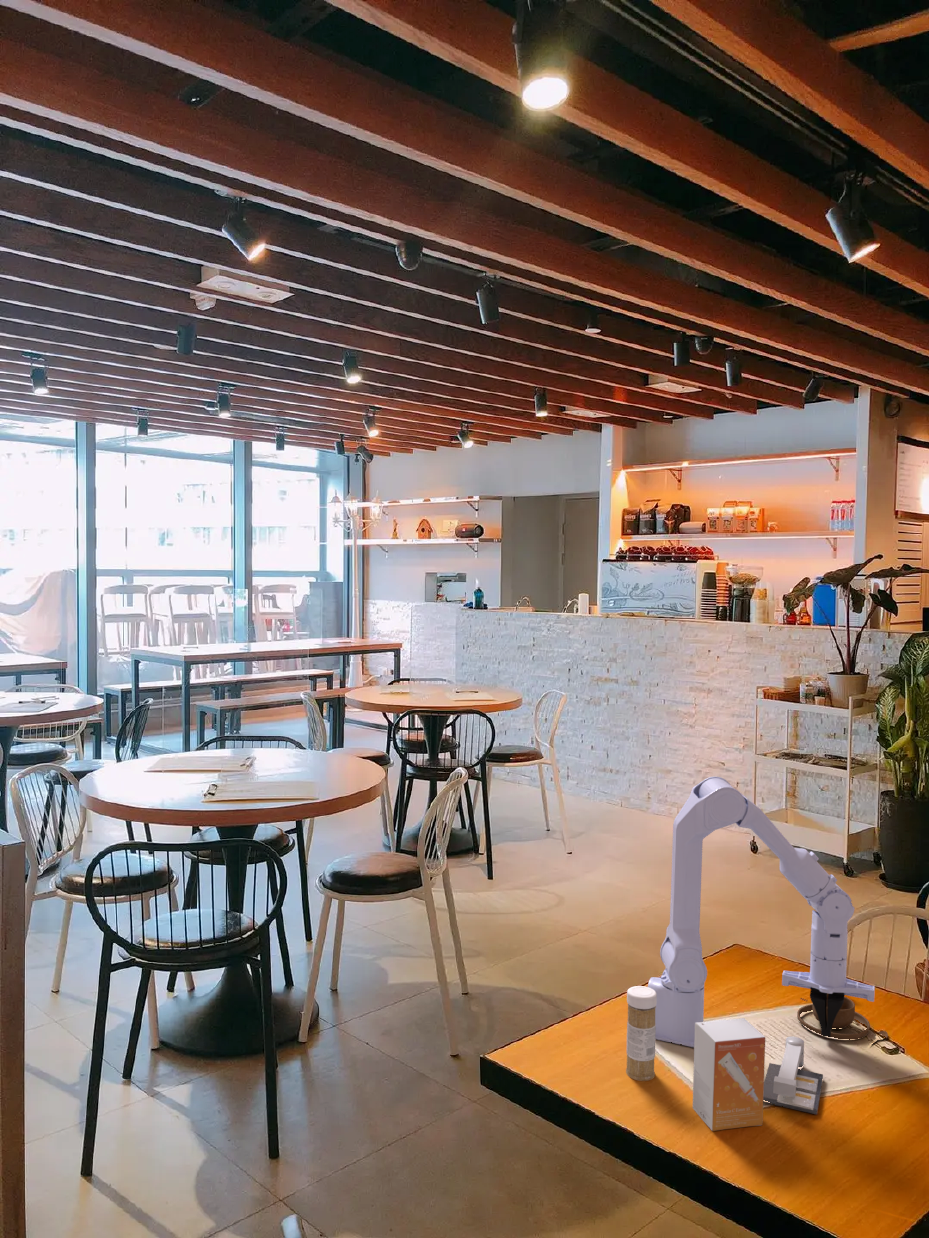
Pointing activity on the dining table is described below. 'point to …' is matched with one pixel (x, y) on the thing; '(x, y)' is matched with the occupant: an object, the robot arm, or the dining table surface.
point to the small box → (728, 1073)
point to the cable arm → (789, 1067)
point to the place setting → (840, 1019)
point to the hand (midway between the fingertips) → (826, 1033)
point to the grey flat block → (805, 1089)
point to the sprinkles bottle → (641, 1033)
